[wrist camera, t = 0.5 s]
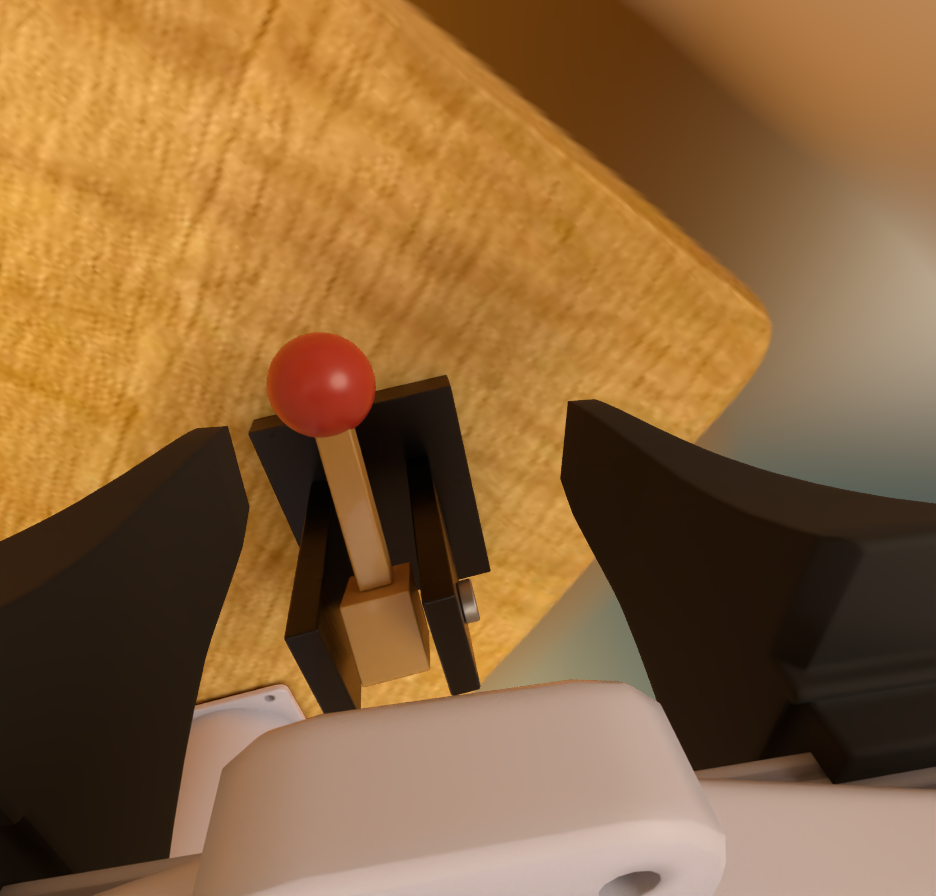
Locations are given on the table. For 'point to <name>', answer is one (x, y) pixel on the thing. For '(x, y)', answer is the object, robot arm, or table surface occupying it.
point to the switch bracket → (404, 528)
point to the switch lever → (352, 501)
